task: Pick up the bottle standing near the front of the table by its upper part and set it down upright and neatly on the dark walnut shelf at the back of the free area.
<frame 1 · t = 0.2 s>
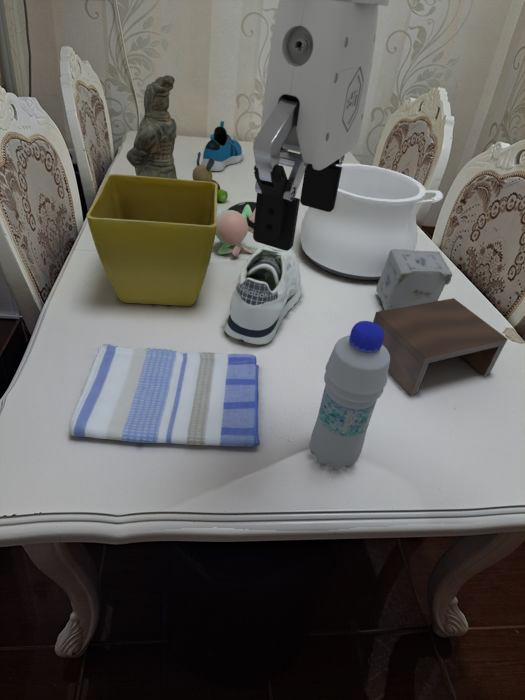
hand: (296, 224, 41), 30 cm above the table, tool pointing down, fingers open, 9 cm apart
tan rounded piece: (204, 199, 125), on the table
white printed box: (404, 307, 92), on the table
computer mouse: (248, 221, 117), on the table
pot: (352, 258, 107), on the table
dish towel: (172, 400, 66), on the table
bottle: (332, 456, 61), on the table
statue: (155, 223, 111), on the table
flower pot: (160, 288, 89), on the table
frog: (233, 249, 105), on the table
shelf: (426, 361, 79), on the table
shoe: (223, 162, 152), on the table
running shoe: (267, 303, 88), on the table
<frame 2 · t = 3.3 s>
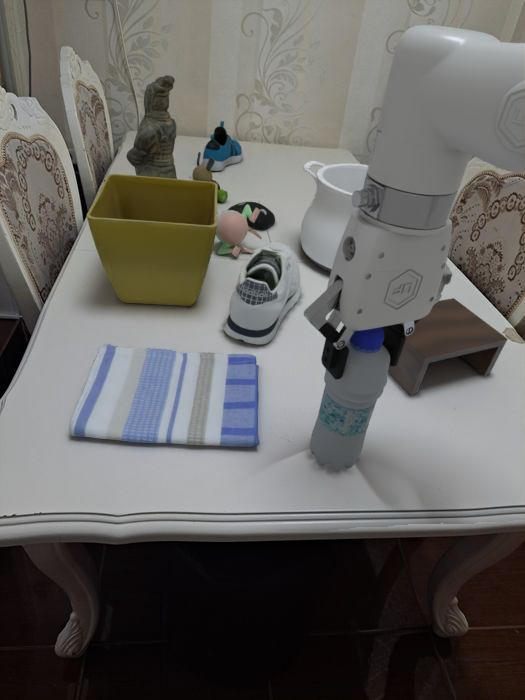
hand: (359, 363, 52), 15 cm above the table, tool pointing down, fingers closed on bottle, 6 cm apart
bottle: (332, 456, 61), on the table, touching gripper
everything else where it was.
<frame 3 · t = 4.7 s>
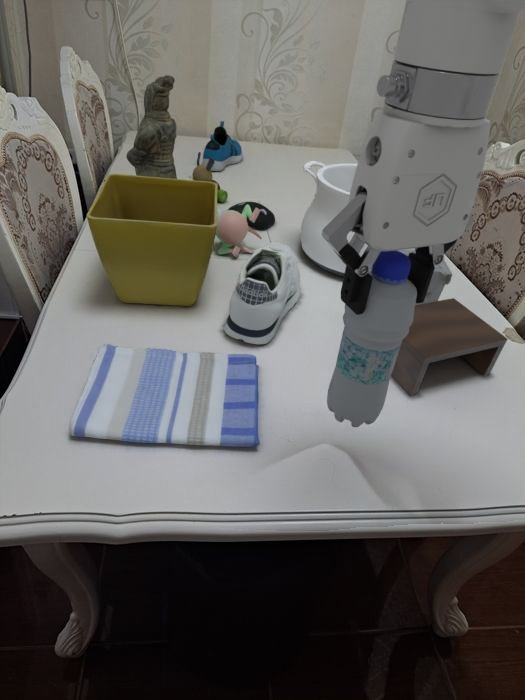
hand: (382, 300, 47), 23 cm above the table, tool pointing down, fingers closed on bottle, 6 cm apart
bottle: (351, 413, 56), point 8 cm above the table, touching gripper
everything else where it was.
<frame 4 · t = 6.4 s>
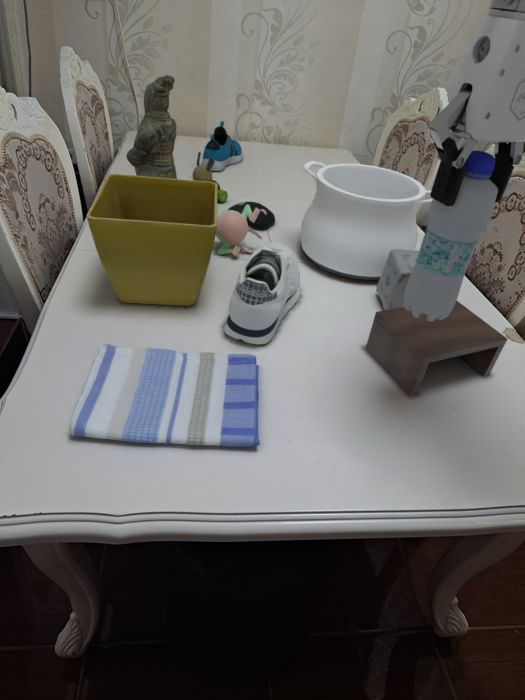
hand: (465, 198, 54), 30 cm above the table, tool pointing down, fingers closed on bottle, 6 cm apart
bottle: (423, 312, 63), point 14 cm above the table, touching gripper
everything else where it was.
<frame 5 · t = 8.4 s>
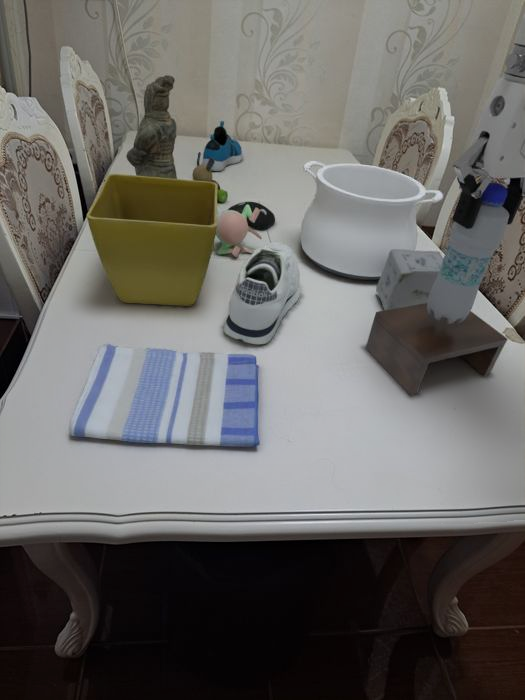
hand: (481, 221, 64), 24 cm above the table, tool pointing down, fingers closed on bottle, 6 cm apart
bottle: (444, 316, 74), point 9 cm above the table, touching gripper
everything else where it was.
when the fingers open (22 cm above the table, at t = 9.5 s): bottle stays where it is, resting on shelf.
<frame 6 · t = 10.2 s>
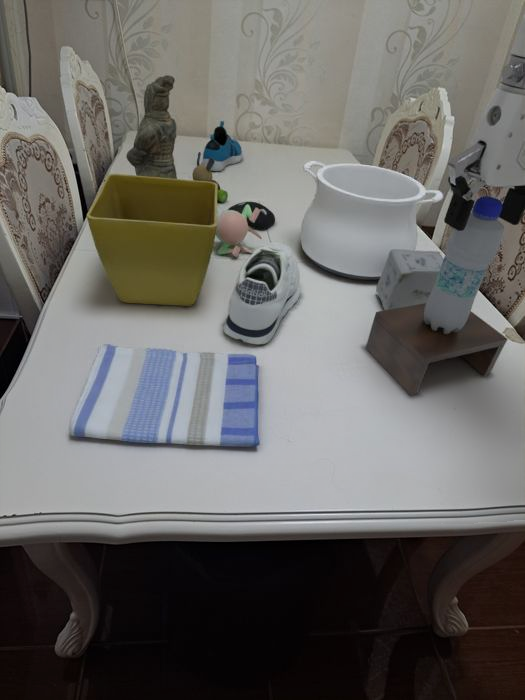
hand: (481, 223, 65), 24 cm above the table, tool pointing down, fingers open, 9 cm apart
bottle: (440, 326, 75), point 7 cm above the table, touching shelf
everything else where it was.
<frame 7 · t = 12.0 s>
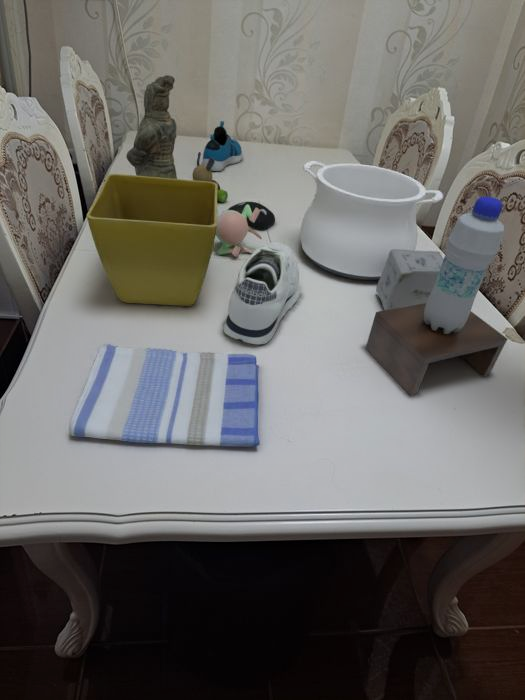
nothing on the table moved.
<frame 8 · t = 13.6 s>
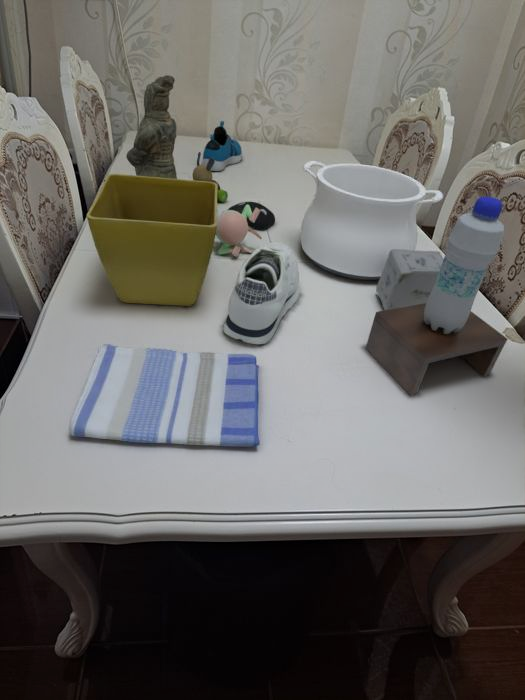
nothing on the table moved.
at the end: bottle inside the target area on the shelf (0.1 cm from its centre), point 7.0 cm above the shelf's base; bottle tilted 0°; the gripper is holding nothing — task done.
